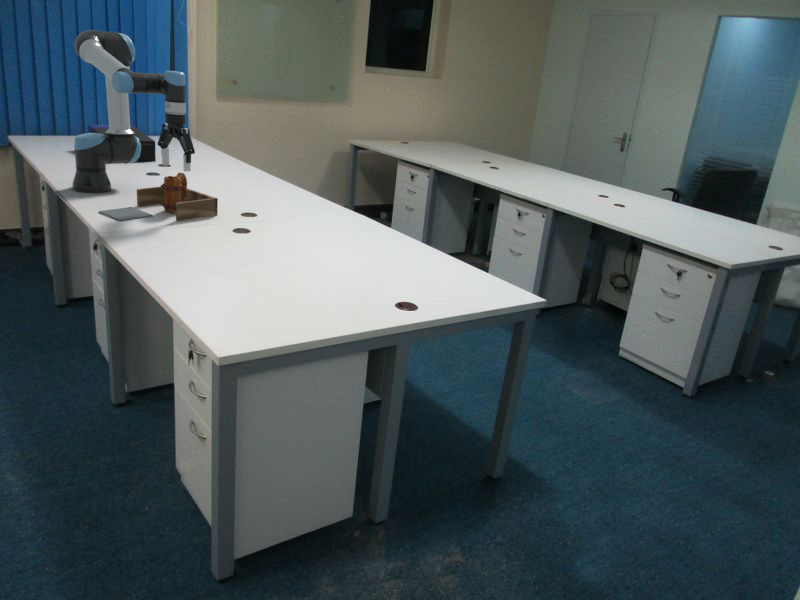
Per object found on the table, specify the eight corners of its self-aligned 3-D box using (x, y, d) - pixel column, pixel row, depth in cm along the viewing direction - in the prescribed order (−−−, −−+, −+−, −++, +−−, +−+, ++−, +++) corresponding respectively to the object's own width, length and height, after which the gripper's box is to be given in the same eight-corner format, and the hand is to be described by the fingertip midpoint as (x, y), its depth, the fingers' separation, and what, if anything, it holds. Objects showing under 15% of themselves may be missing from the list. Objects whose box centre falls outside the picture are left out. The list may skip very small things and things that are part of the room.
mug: (176, 216, 257) (175, 178, 252) (157, 212, 258) (156, 175, 253) (194, 208, 270) (194, 173, 265) (176, 205, 272) (176, 170, 266)
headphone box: (132, 149, 375) (131, 124, 369) (155, 161, 351) (155, 135, 346) (87, 150, 359) (86, 123, 354) (108, 162, 335) (107, 134, 330)
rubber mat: (98, 212, 249) (98, 211, 249) (131, 208, 260) (131, 206, 259) (120, 221, 242) (119, 219, 241) (152, 216, 253) (152, 215, 252)
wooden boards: (137, 205, 264) (136, 189, 261) (177, 200, 279) (176, 184, 276) (177, 221, 250) (177, 203, 248) (217, 215, 266) (217, 198, 263)
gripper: (147, 108, 254) (149, 162, 261) (187, 117, 241) (188, 174, 248) (163, 108, 260) (165, 161, 267) (204, 117, 247) (204, 173, 254)
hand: (176, 168), depth 258 cm, fingers open, 13 cm apart
